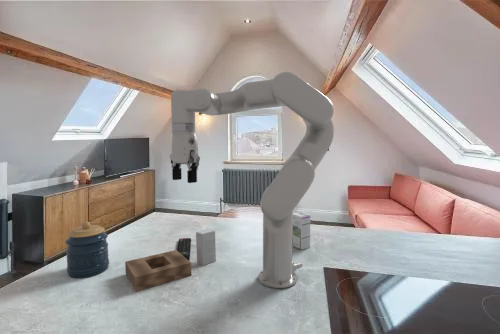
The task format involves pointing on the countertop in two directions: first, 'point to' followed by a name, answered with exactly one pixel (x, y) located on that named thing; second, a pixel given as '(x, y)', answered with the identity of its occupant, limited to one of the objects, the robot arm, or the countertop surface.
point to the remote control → (184, 247)
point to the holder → (157, 269)
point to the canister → (87, 251)
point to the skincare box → (205, 246)
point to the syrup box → (301, 231)
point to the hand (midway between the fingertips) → (184, 181)
